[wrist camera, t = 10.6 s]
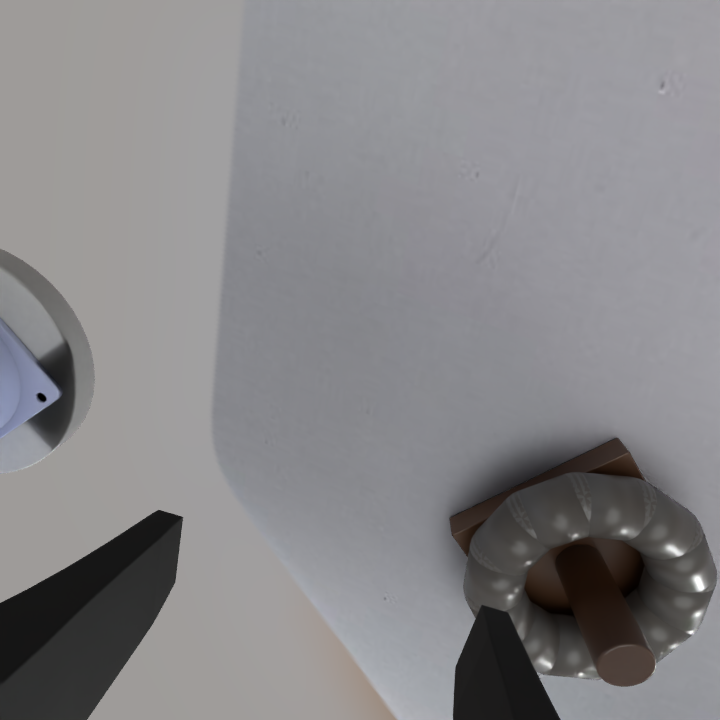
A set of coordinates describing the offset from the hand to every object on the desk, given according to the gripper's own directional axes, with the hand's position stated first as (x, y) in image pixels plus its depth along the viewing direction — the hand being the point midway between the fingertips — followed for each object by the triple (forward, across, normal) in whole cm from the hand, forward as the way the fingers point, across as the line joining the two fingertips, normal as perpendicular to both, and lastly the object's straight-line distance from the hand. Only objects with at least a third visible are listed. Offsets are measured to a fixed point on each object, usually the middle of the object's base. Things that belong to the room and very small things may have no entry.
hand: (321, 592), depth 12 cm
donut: (+9, -10, +4) cm, 14 cm away
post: (+11, -10, +5) cm, 16 cm away
